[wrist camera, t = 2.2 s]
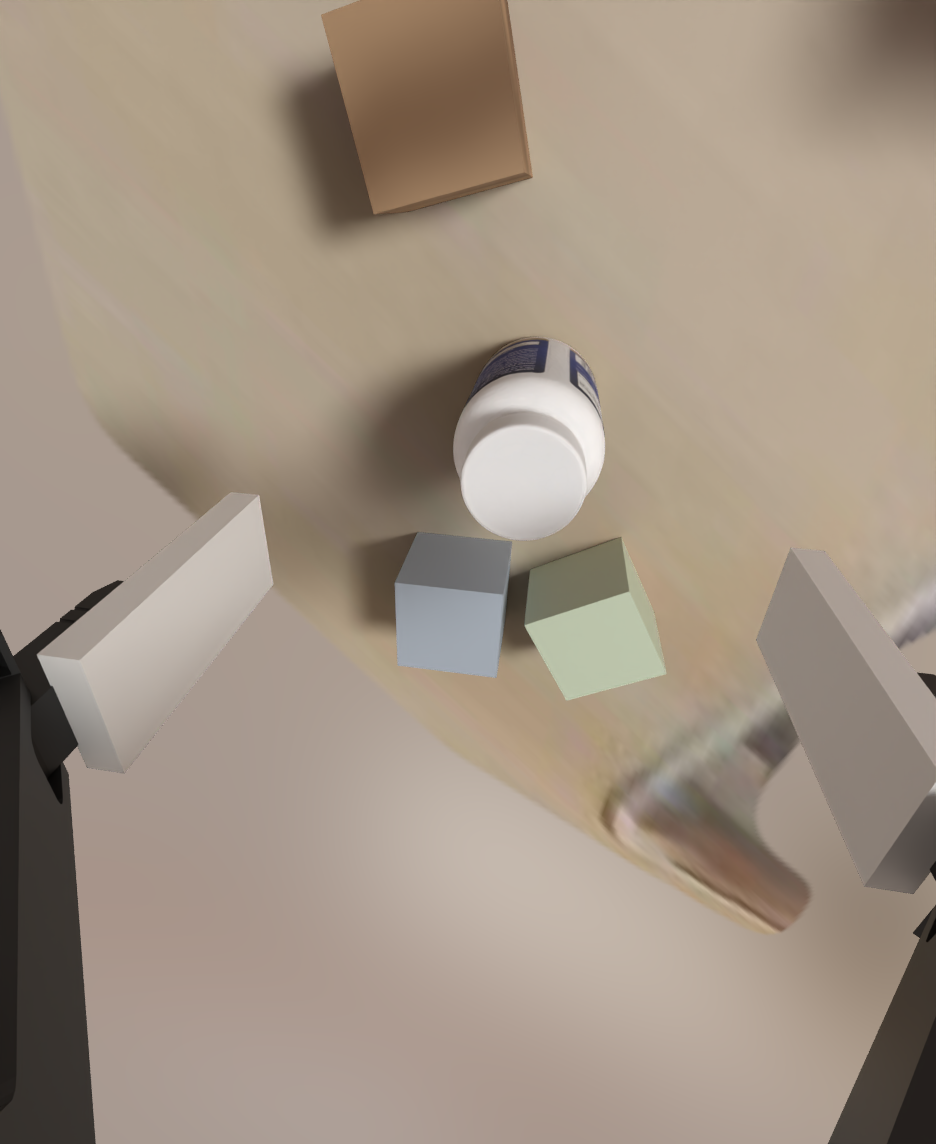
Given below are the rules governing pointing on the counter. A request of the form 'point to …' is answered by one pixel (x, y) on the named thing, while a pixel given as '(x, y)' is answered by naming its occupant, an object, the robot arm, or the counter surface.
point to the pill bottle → (530, 439)
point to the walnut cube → (430, 98)
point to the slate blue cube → (452, 604)
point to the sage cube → (593, 621)
